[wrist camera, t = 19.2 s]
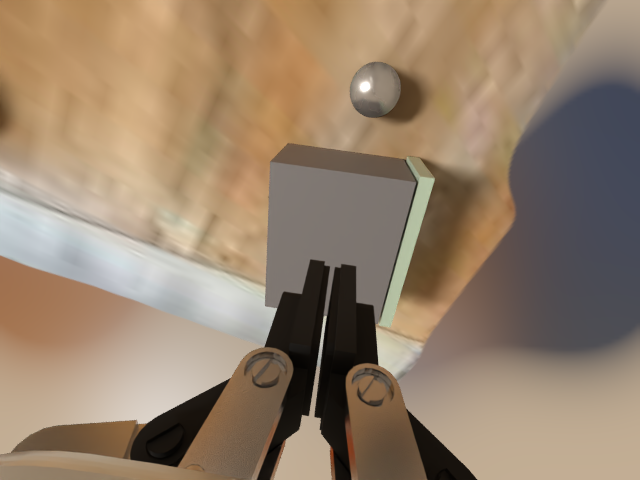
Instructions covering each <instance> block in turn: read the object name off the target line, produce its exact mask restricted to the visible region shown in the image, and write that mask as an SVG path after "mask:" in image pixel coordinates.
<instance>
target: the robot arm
mask: <svg viewBox="0 0 640 480" xmlns="http://www.w3.org/2000/svg"><path fill="white" fill-rule="evenodd" d="M329 272H330V266H326V265H325V261H319V260H313V259H310V262H309V267H308V271H307V275H306V279H305V283H304V287H303V291H302V294H298V293H291V292H285V291H284V292H283V294H282V296H281V299H280V302H279V305H278V308H277V311H276V314H275V317H274V320H273V323H272V326H271V329H270V332H269V335H268V338H267V341H266V344H265V347H264V348H259V349H256V350H253V351H251V352H250V353H249V354H247V355H246V356H245V357H244V358H243V359H242V361H241V362H240V364H239V365H238V367H237V369H236V370H235V372H234V374H233V375H232V377H231V378H230V379H228V380H226V381H224V382H222V383H220V384H219V385H217V386H215V387H213V388H211V389H209V390H207V391H205V392H203V393H201V394H199V395H198V396H196V397H194V398H192V399H190V400H188V401H186V402H184V403H183V404H180V405H179V406H177V407H175V408H173V409H171V410H169V411H167V412H165V413H163V414H161V415H160V416H158V417H156V418H154V419H153V420H152V421H150V422H149V423H147V424H138V422H137V420H132V421H116V422H102V423H88V424H73V425H58V426H52V427H48V428H44V429H41V430H39V431H37V432H35V433H33V434H31V435H29V436H28V437H27V438H25V439H24V440H23V441H22V442H20V443H19V444H18V445H17V446H16V447H15V448H14V449H13V451H12V452H11V453H7V454H1V455H0V480H273V479H274V476H275V473H276V470H277V467H278V464H279V461H280V458H281V455H282V452H283V449H284V447H285V441H286V439H287V438H288V437H290V436H291V435H292V434H294V433H295V432H297V431H298V430H299V427H300V423H301V417H302V415H306V416H309V411H310V405H311V398H312V392H313V385H314V379H315V373H316V366H317V360H318V353H319V346H320V339H321V332H322V324H323V317H324V309H325V302H326V294H327V287H328V279H329ZM315 417H317V418H321V424H320V430H321V434H322V435H323V437H324V438H325V439H326V441H327V442H328V443H329V445H330V460H331V475H332V480H477V479H476V478H475V476H474V475H473V474H472V473H471V472H470V470H469V469H468V468H467V467H466V466H465V465H464V464H463V463H461V462H460V461H459V460H458V459H457V458H456V457H455V456H454V455H453V454H452V453H451V452H450V451H449V450H448V449H447V448H446V447H445V446H444V445H443V444H442V443H441V442H440V441H439V440H438V439H437V438H436V437H435V436H434V435H433V434H432V433H431V432H430V431H429V430H428V429H426V428H425V426H423V425H422V424H421V423H420V422H419V421H418V420H417V419H416V418H415V417H414V416H413V415H412V414H411V413H410V412H409V411H408V410H407V409H406V407H405V403H404V401H403V397H402V394H401V390H400V387H399V385H398V383H397V380H396V379H395V378H394V377H393V375H392V374H391V373H390V372H388V371H387V370H386V369H384V368H383V367H380V366H378V354H377V341H376V328H375V315H374V306H373V305H369V304H363V303H356V266H353V265H346V264H341V268H339V267H335V269H334V276H333V282H332V288H331V294H330V300H329V307H328V313H327V319H326V326H325V333H324V341H323V350H322V358H321V366H320V374H319V383H318V391H317V399H316V407H315Z"/></svg>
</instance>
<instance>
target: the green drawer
mask: <svg viewBox="0 0 640 480" xmlns="http://www.w3.org/2000/svg"><path fill="white" fill-rule="evenodd" d="M406 165H407V166H408V168H409V170H410V172H411V174H412V175H413V177H414V179H415V181H416V185H415V189H414V193H413V196H412V200H411V204H410V207H409V211H408V215H407V218H406V222H405V226H404V230H403V233H402V237H401V241H400V244H399V248H398V252H397V255H396V259H395V263H394V266H393V270H392V274H391V277H390V281H389V285H388V288H387V292H386V296H385V299H384V303H383V307H382V310H381V314H380V318H379V326H385V327H391V324H392V321H393V317H394V314H395V311H396V307H397V304H398V301H399V297H400V294H401V291H402V287H403V284H404V281H405V277H406V274H407V271H408V267H409V264H410V261H411V257H412V254H413V251H414V247H415V244H416V241H417V237H418V234H419V231H420V227H421V224H422V221H423V217H424V214H425V211H426V207H427V204H428V201H429V197H430V194H431V191H432V187H433V184H434V181H435V178H434V177H433V175H432V174H431V173H430V171H429V170H428V169H427V167H426V166H425V165H424V163H423V162H422V161H421V159H420V158H418V157H411V156H407V159H406Z"/></svg>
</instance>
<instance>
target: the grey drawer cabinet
mask: <svg viewBox="0 0 640 480" xmlns="http://www.w3.org/2000/svg"><path fill="white" fill-rule="evenodd" d="M415 185H416V181H415V179H414V177H413V175H412V174H411V172H410V170H409V168H408V166H407V165H406V163H405V161H404V159H398V158H391V157H383V156H376V155H369V154H362V153H355V152H347V151H340V150H333V149H326V148H318V147H311V146H304V145H297V144H289V143H288V144H287V145H286V146H285V147H284V148H283V149H282V150H281V151H280V152H279V153H278V154H277V155H276V156H275V157H274V158H273V159H272V160H271V161H270V184H269V211H268V239H267V266H266V294H265V306H267V307H273V308H278V305H279V302H280V299H281V296H282V294H283V292H284V291H285V292H291V293H298V294H302V291H303V287H304V283H305V279H306V275H307V271H308V267H309V262H310V259H313V260H319V261H325V265H326V266H330V272H329V279H328V287H327V294H326V302H325V309H324V316H327V313H328V307H329V300H330V294H331V288H332V282H333V276H334V269H335V267H339V268H341V264H346V265H353V266H356V303H363V304H369V305H373V306H374V315H375V324H378V322H379V318H380V314H381V310H382V307H383V303H384V299H385V296H386V292H387V288H388V285H389V281H390V277H391V274H392V270H393V266H394V263H395V259H396V255H397V252H398V248H399V244H400V241H401V237H402V233H403V230H404V226H405V222H406V218H407V215H408V211H409V207H410V204H411V200H412V196H413V193H414V189H415Z"/></svg>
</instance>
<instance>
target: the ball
mask: <svg viewBox="0 0 640 480" xmlns="http://www.w3.org/2000/svg"><path fill="white" fill-rule="evenodd" d="M400 92H401V83H400V79H399V76H398V74H397V73H396V71H395V70H394V69H393V68H392V67H391V66H390V65H388V64H386V63H383V62H372V63H369V64H366V65H365V66H363V67H362V68H360V69H359V70H358V71H357V73H356V74H355V76H354V77H353V79H352V82H351V86H350V98H351V102H352V104H353V106H354V108H355V109H356V110H357V111H358V112H359V113H360V114H362V115H364V116H366V117H372V118H375V117H380V116H383V115H385V114H387V113H388V112H390V111H391V110H392V109H393V108H394V106H395V105H396V103H397V101H398V99H399V96H400Z"/></svg>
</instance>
